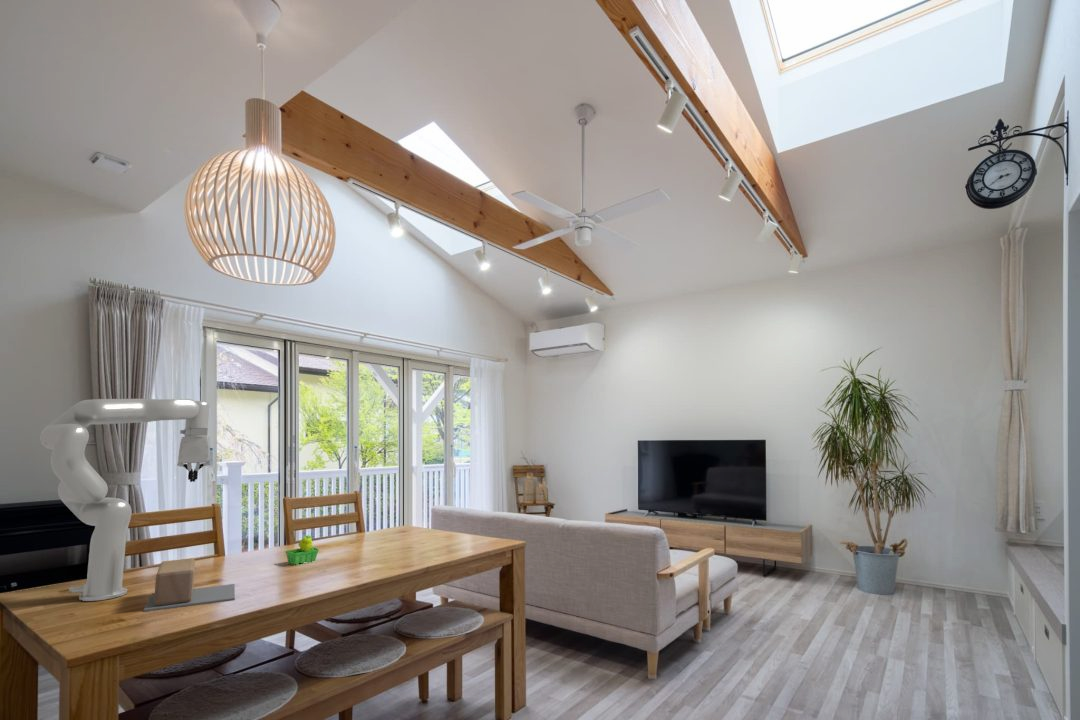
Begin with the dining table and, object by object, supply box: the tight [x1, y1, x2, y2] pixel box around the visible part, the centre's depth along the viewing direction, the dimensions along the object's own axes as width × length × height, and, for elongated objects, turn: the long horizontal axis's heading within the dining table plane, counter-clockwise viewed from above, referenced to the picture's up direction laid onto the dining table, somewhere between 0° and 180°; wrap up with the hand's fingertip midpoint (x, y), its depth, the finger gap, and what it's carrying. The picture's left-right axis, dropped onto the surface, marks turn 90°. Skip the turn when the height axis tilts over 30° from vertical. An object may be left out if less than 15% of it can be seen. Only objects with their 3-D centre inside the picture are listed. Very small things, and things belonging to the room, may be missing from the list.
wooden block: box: [154, 558, 196, 606], centre depth 182 cm, size 10×10×20 cm
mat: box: [143, 583, 236, 612], centre depth 183 cm, size 24×20×1 cm
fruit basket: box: [285, 534, 320, 566], centre depth 233 cm, size 11×9×11 cm
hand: (192, 481), depth 214 cm, fingers closed
